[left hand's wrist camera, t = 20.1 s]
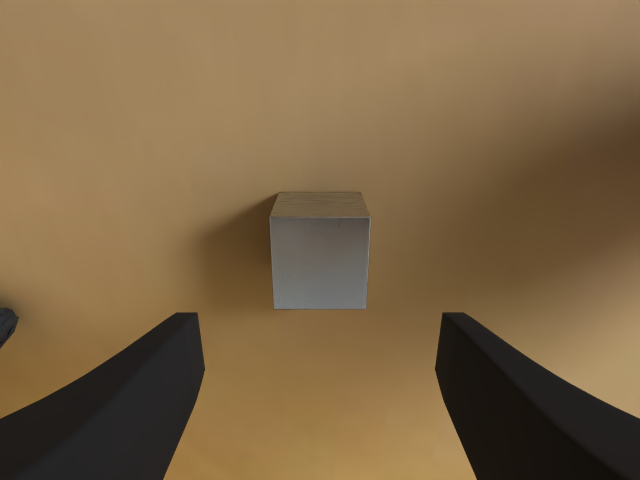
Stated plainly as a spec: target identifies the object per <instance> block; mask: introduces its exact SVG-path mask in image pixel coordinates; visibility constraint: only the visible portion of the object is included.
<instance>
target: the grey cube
mask: <svg viewBox="0 0 640 480" xmlns="http://www.w3.org/2000/svg"><path fill="white" fill-rule="evenodd" d="M269 223H270V244H271V264H272V284H273V305H274V309H366V306H367V286H368V267H369V248H370V228H371V216H370V214H369V211H368V209H367V206H366V204H365V201H364V199H363V196H362V194H361V192H279V194H278V196H277V199H276V202H275V204H274V207H273V209H272V212H271V214H270V217H269Z"/></svg>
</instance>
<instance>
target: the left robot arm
mask: <svg viewBox="0 0 640 480" xmlns="http://www.w3.org/2000/svg"><path fill="white" fill-rule="evenodd" d="M204 371H205V366H204V358H203V351H202V343H201V336H200V328H199V321H198V314H197V313H175V314H173V315H172V316H170V317H169V318H167V319H166V320H164V321H163V322H162V323H160V324H159V325H157V326H156V327H155V328H153V329H152V330H151V331H149V332H148V333H146V334H145V335H144V336H142V337H141V338H139V339H138V340H137V341H135V342H134V343H132V344H131V345H130V346H128V347H127V348H125V349H124V350H122V351H121V352H119V353H118V354H116V355H115V356H113V357H112V358H110V359H109V360H107V361H106V362H104V363H103V364H101V365H100V366H98V367H96V368H95V369H93V370H92V371H90V372H89V373H87V374H85V375H84V376H82V377H81V378H79V379H77V380H75V381H74V382H72V383H70V384H68V385H67V386H65V387H63V388H61V389H59V390H58V391H56V392H54V393H52V394H50V395H48V396H47V397H45V398H43V399H41V400H39V401H37V402H35V403H33V404H30V405H28V406H26V407H24V408H22V409H20V410H18V411H16V412H14V413H12V414H10V415H8V416H5V417H3V418H1V419H0V480H163V479H164V476H165V474H166V471H167V469H168V467H169V464H170V462H171V460H172V457H173V455H174V452H175V450H176V448H177V445H178V443H179V441H180V438H181V436H182V434H183V431H184V429H185V427H186V424H187V422H188V420H189V417H190V415H191V412H192V410H193V408H194V405H195V403H196V400H197V396H198V393H199V390H200V386H201V382H202V379H203V375H204ZM435 371H436V375H437V379H438V382H439V386H440V390H441V393H442V396H443V400H444V403H445V405H446V408H447V410H448V412H449V415H450V417H451V420H452V422H453V424H454V427H455V429H456V431H457V434H458V436H459V438H460V441H461V443H462V445H463V448H464V450H465V452H466V455H467V457H468V460H469V462H470V464H471V467H472V469H473V471H474V474H475V476H476V479H477V480H640V419H639V418H637V417H635V416H633V415H631V414H628V413H626V412H624V411H622V410H620V409H618V408H616V407H614V406H612V405H610V404H608V403H606V402H604V401H602V400H600V399H598V398H596V397H594V396H592V395H590V394H588V393H587V392H585V391H583V390H581V389H579V388H577V387H576V386H574V385H572V384H570V383H568V382H567V381H565V380H563V379H562V378H560V377H558V376H556V375H555V374H553V373H552V372H550V371H548V370H547V369H545V368H544V367H542V366H541V365H539V364H537V363H536V362H534V361H533V360H531V359H530V358H528V357H527V356H525V355H524V354H522V353H521V352H519V351H518V350H516V349H515V348H513V347H512V346H511V345H509V344H508V343H506V342H505V341H504V340H502V339H501V338H499V337H498V336H497V335H495V334H494V333H492V332H491V331H490V330H488V329H487V328H486V327H484V326H483V325H481V324H480V323H479V322H477V321H476V320H474V319H473V318H471V317H470V316H468V315H467V314H465V313H443V314H442V321H441V328H440V336H439V343H438V351H437V358H436V366H435Z"/></svg>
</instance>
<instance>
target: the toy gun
mask: <svg viewBox="0 0 640 480" xmlns="http://www.w3.org/2000/svg"><path fill="white" fill-rule="evenodd" d="M18 318H19V317H17V316H16V315H15V313H14V312H13V310H11V309H8V308H0V348H1V347H2V346H3V345H4V343H5V342H6V341H7V340H8V339H9V337H10V336H11V335H12V334H13V333H14V331H15V328H16V325H17V321H18Z"/></svg>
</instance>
